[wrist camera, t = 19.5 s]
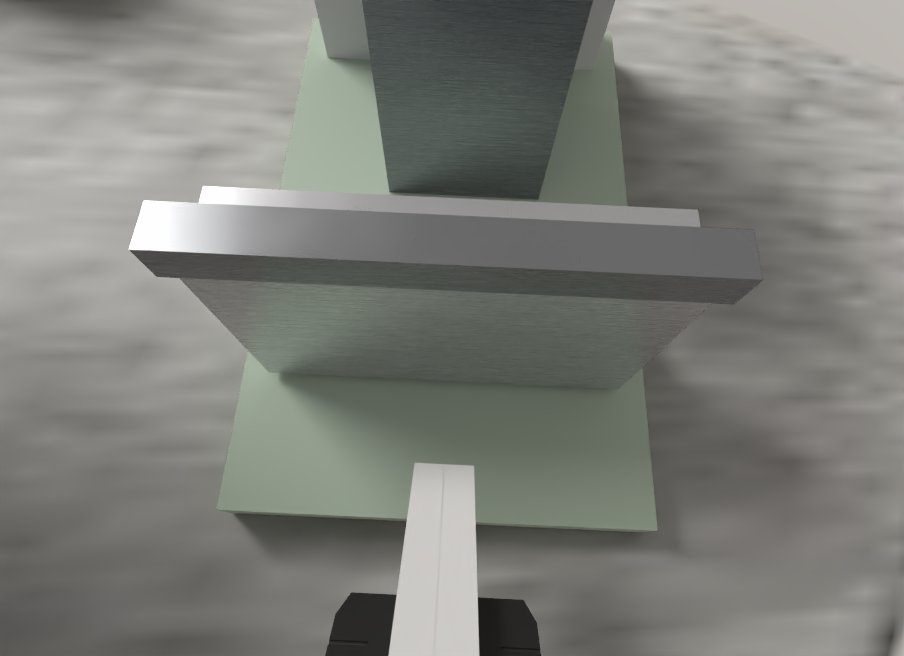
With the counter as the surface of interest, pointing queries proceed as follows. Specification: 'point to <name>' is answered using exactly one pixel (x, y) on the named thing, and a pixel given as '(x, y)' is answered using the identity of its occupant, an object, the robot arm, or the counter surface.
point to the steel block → (471, 91)
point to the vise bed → (441, 402)
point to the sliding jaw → (446, 282)
